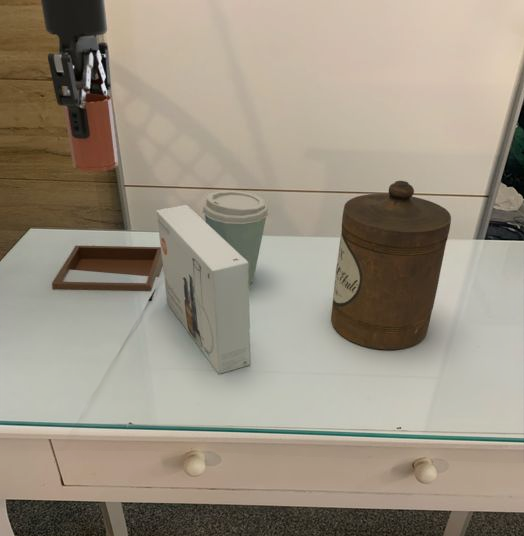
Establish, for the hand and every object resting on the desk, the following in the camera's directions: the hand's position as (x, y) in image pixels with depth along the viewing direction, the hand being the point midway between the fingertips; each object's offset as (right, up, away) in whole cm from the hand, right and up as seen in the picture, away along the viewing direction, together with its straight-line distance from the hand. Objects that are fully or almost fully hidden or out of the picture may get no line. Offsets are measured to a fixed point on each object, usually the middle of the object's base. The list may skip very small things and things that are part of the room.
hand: (91, 131), depth 78 cm
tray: (-2, -18, +18) cm, 26 cm away
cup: (0, -4, +3) cm, 5 cm away
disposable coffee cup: (+19, -19, +19) cm, 33 cm away
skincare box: (+15, -28, +5) cm, 32 cm away
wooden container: (+42, -27, +8) cm, 50 cm away
